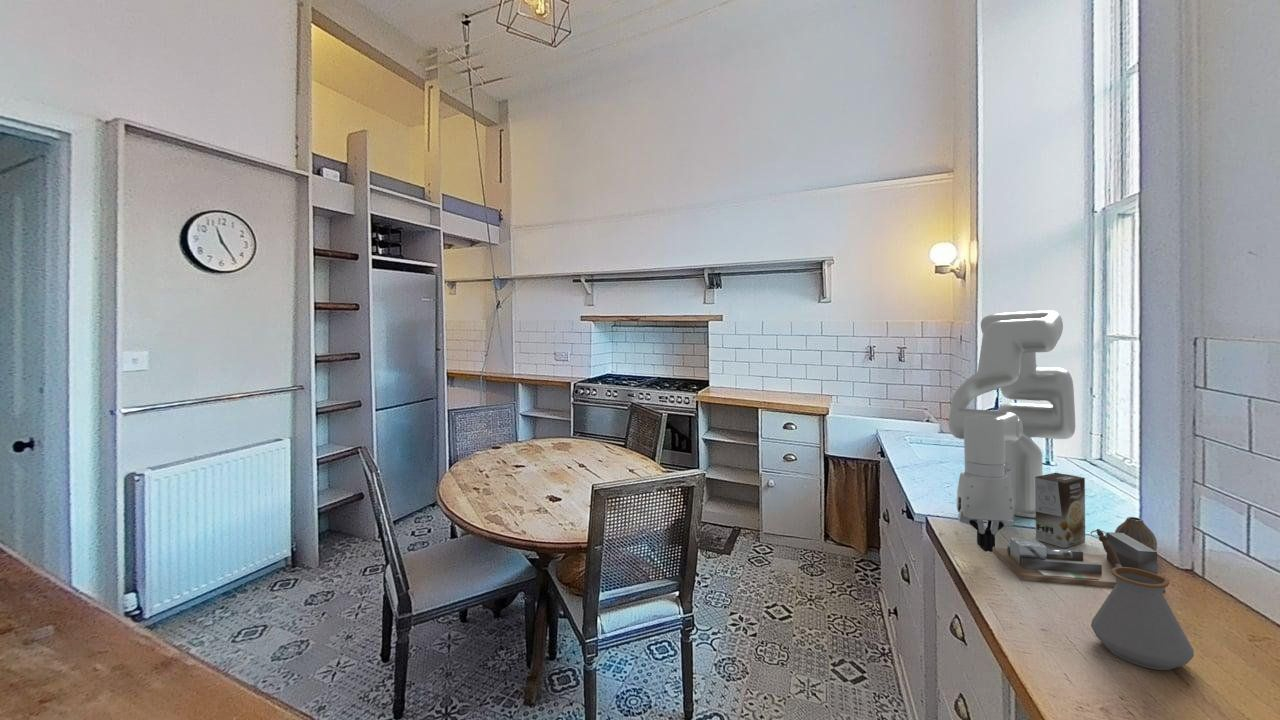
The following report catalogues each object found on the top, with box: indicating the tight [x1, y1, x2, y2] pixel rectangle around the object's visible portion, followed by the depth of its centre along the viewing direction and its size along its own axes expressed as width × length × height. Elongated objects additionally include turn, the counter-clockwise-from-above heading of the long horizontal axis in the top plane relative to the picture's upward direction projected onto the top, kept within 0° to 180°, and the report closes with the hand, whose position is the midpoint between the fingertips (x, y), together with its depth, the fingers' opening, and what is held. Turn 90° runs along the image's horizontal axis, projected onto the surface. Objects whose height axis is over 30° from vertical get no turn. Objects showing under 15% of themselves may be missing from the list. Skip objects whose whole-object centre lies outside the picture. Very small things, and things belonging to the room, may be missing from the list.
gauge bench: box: [993, 531, 1166, 592], centre depth 105 cm, size 24×14×7 cm, turn 74°
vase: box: [1114, 516, 1158, 552], centre depth 110 cm, size 7×7×9 cm
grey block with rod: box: [1009, 536, 1073, 565], centre depth 105 cm, size 11×9×4 cm
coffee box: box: [1035, 472, 1086, 549], centre depth 120 cm, size 9×6×16 cm
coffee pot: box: [1090, 528, 1195, 671], centre depth 82 cm, size 21×12×15 cm, turn 154°
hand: (986, 549), depth 110 cm, fingers closed
